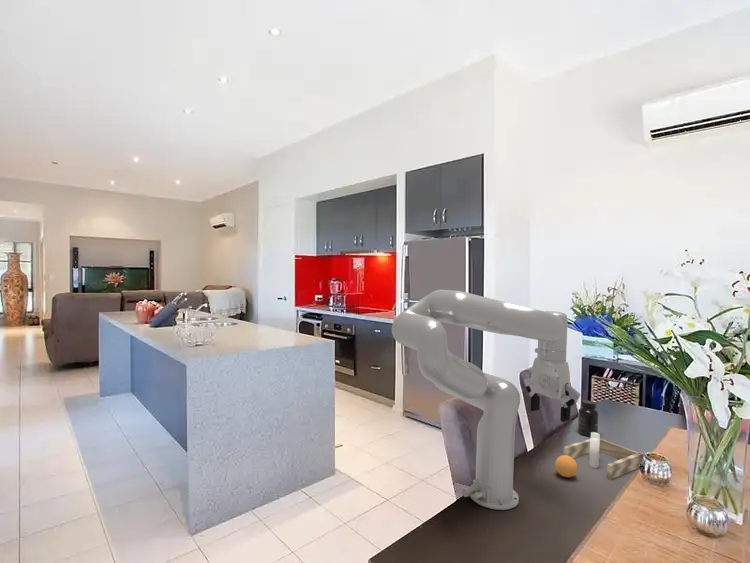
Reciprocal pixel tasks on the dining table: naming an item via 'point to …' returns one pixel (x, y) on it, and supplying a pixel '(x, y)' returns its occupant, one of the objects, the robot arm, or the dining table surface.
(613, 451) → the u-shaped wooden frame
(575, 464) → the ball
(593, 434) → the back pin
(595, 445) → the front pin
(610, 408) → the dining table surface
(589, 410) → the supplement bottle
